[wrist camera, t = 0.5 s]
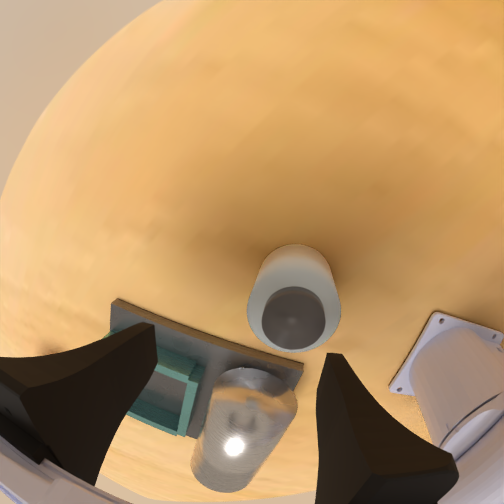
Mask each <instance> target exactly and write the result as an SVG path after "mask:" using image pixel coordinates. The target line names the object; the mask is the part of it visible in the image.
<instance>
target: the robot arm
mask: <svg viewBox="0 0 504 504" xmlns="http://www.w3.org/2000/svg"><path fill="white" fill-rule="evenodd" d="M441 318H443V319H442V321H440V322H439V320H440V319H441ZM493 335H494V336H493ZM503 338H504V334H503V333H502V332H500V331H497V330H494V329H490V328H487V327H484V326H481V325H478V324H475V323H471V322H468V321H465V320H462V319H459V318H456V317H453V316H449V315H446V314H443V313H440V312H435V313H433V314H432V315H431V317H430V319H429V321H428V323H427V325H426V326H425V328H424V330H423V332H422V334H421V335H420V337H419V339H418V341H417V342H416V344H415V346H414V348H413V349H412V351H411V353H410V354H409V356H408V358H407V359H406V361H405V362H404V364H403V366H402V367H401V369H400V370H399V372H398V373H397V375H396V376H395V378H394V379H393V381H392V382H391V384H390V385H389V390H390V392H392V393H398V394H404V395H411V396H415V397H416V399H417V402H418V405H419V407H420V410H421V412H422V415H423V418H424V420H425V423H426V426H427V428H428V431H429V434H430V437H431V440H432V443H433V445H432V444H430V443H429V442H427V441H425V440H424V439H422V438H420V437H419V436H417V435H416V434H414V433H413V432H411V431H410V430H408V429H407V428H406V427H404V426H403V425H402V424H401V423H399V422H398V421H397V420H396V419H395V418H393V417H392V416H391V415H390V414H389V413H388V412H387V411H386V410H385V409H384V408H383V407H382V406H381V405H380V404H379V403H378V402H377V401H376V400H375V399H374V397H373V396H372V395H371V394H370V393H369V392H368V390H367V389H366V388H365V386H364V385H363V384H362V382H361V381H360V380H359V378H358V377H357V375H356V374H355V372H354V371H353V370H352V368H351V367H350V365H349V364H348V362H347V361H346V359H345V358H344V356H343V355H342V354H337V353H327V355H326V359H325V363H324V367H323V370H322V374H321V377H320V381H319V384H318V388H317V397H316V420H317V434H318V449H319V467H318V480H317V490H316V499H315V504H504V349H503V348H502V347H501V346H500V343H501V341H502V340H503ZM157 363H158V357H157V347H156V337H155V325H154V324H149V323H145V322H140V323H137V324H135V325H133V326H130V327H128V328H126V329H124V330H121V331H119V332H117V333H115V334H113V335H110V336H108V337H106V338H103V339H101V340H98V341H96V342H93V343H91V344H88V345H86V346H83V347H80V348H76V349H73V350H69V351H66V352H61V353H56V354H51V355H45V356H37V357H24V358H12V357H0V490H1V491H2V492H3V493H4V494H6V495H7V496H8V497H9V498H10V499H11V500H12V501H14V502H15V503H16V504H132V503H129V502H127V501H124V500H122V499H120V498H117V497H115V496H113V495H111V494H109V493H107V492H104V491H102V490H100V489H98V488H96V487H94V486H95V483H96V480H97V477H98V474H99V471H100V468H101V466H102V463H103V461H104V458H105V455H106V453H107V451H108V448H109V446H110V444H111V442H112V440H113V437H114V435H115V433H116V431H117V429H118V427H119V425H120V423H121V422H122V420H123V418H124V417H125V415H126V413H127V412H128V410H129V409H130V408H131V406H132V405H133V403H134V402H135V400H136V399H137V398H138V396H139V395H140V393H141V392H142V390H143V389H144V387H145V386H146V384H147V383H148V381H149V380H150V378H151V376H152V374H153V372H154V370H155V368H156V366H157ZM399 387H400V388H399ZM398 388H399V389H398Z"/></svg>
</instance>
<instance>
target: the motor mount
mask: <svg viewBox="0 0 504 504" xmlns="http://www.w3.org/2000/svg"><path fill="white" fill-rule="evenodd" d="M140 322H145V323H149V324H154V325H155V337H156V347H157V357H158V363H157V366H156V368H155V370H154V372H153V374H152V376H151V378H150V380H149V381H148V383H147V384H146V386H145V387H144V389H143V390H142V392H141V393H140V395H139V396H138V398H137V399H136V400H135V402H134V403H133V405H132V406H131V408H130V409H129V410H128V412H127V413H126V415H128V416H130V417H133V418H135V419H137V420H139V421H141V422H143V423H146V424H148V425H150V426H153V427H155V428H157V429H160V430H162V431H165V432H167V433H170V434H172V435H175V436H177V434H178V435H181V436H183V437H185V436H186V435H187V436H189V437H192V438H195V439H197V442H196V445H195V449H194V452H193V455H192V459H191V469H192V472H193V474H194V476H195V477H196V479H197V480H198V481H199V482H200V483H201V484H203V485H204V486H205V487H207V488H209V489H211V490H214V491H218V492H224V493H230V492H236V491H239V490H241V489H243V488H245V487H246V486H247V485H248V484H249V483H250V482H251V481H252V479H253V478H254V477H255V475H256V474H257V472H258V471H259V470H260V468H261V467H262V465H263V464H264V463H265V461H266V460H267V458H268V457H269V455H270V454H271V453H272V451H273V450H274V448H275V447H276V445H277V444H278V442H279V441H280V439H281V438H282V436H283V434H284V433H285V431H286V430H287V428H288V427H289V425H290V423H291V422H292V420H293V419H294V417H295V415H296V413H297V408H298V406H297V400H296V397H295V395H294V393H293V390H294V388H295V386H296V385H297V383H298V381H299V379H300V377H301V375H302V373H303V364H302V363H299V362H295V361H291V360H288V359H284V358H281V357H277V356H274V355H271V354H267V353H264V352H261V351H257V350H254V349H251V348H248V347H245V346H241V345H238V344H235V343H232V342H229V341H226V340H223V339H220V338H217V337H214V336H212V335H209V334H206V333H203V332H200V331H198V330H195V329H192V328H189V327H187V326H184V325H181V324H179V323H176V322H173V321H171V320H168V319H166V318H163V317H161V316H158V315H156V314H153V313H151V312H148V311H146V310H143V309H141V308H138V307H136V306H134V305H131V304H129V303H127V302H124V301H122V300H120V299H116V300H115V301H113V302H112V303H111V317H110V332H109V333H108V334H107V335H106V336H105V337H104V338H106V337H108V336H110V335H113V334H115V333H117V332H119V331H121V330H124V329H126V328H128V327H130V326H133V325H135V324H137V323H140Z"/></svg>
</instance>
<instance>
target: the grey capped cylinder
mask: <svg viewBox="0 0 504 504" xmlns="http://www.w3.org/2000/svg"><path fill="white" fill-rule="evenodd" d="M340 317H341V305H340V300H339V297H338V293H337V290H336V286H335V283H334V279H333V276H332V273H331V269H330V266H329V264H328V262H327V260H326V259H325V258H324V256H323V255H322V254H321V253H319V252H318V251H317V250H315V249H313V248H312V247H309V246H306V245H302V244H289V245H285V246H282V247H279V248H277V249H275V250H274V251H272V252H271V253H270V254H269V255H268V256H267V257H266V258H265V260H264V261H263V263H262V265H261V268H260V270H259V273H258V276H257V278H256V281H255V284H254V287H253V289H252V292H251V295H250V297H249V300H248V305H247V318H248V322H249V325H250V327H251V329H252V331H253V332H254V334H255V335H256V336H257V337H258V338H259V339H260V340H261V341H262V342H263V343H265V344H266V345H268V346H269V347H271V348H273V349H276V350H279V351H283V352H292V353H296V352H304V351H308V350H311V349H314V348H316V347H318V346H320V345H322V344H323V343H324V342H326V341H327V340H328V339H329V338H330V337H331V336H332V335H333V333H334V332H335V330H336V328H337V326H338V324H339V321H340Z"/></svg>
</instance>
